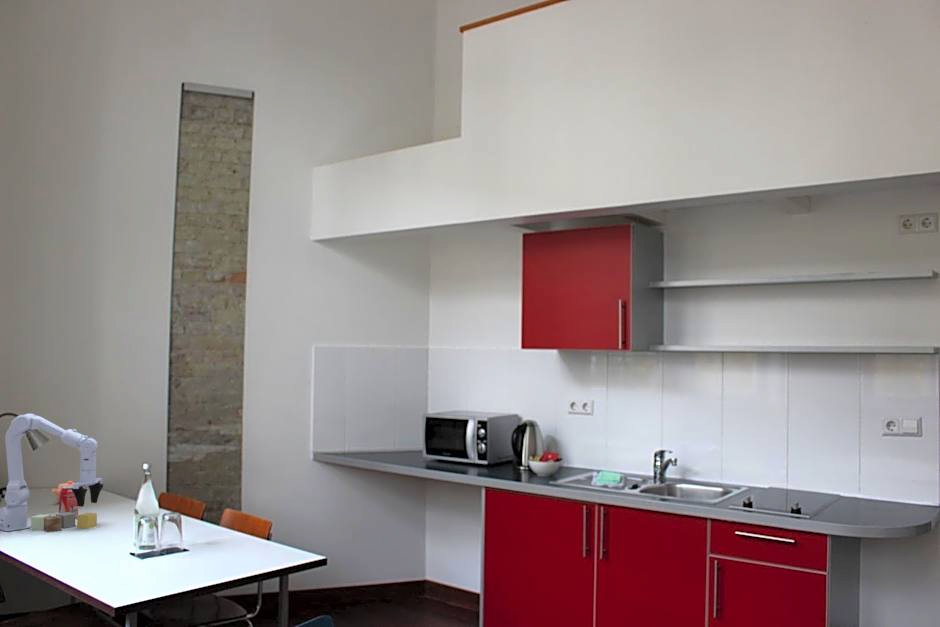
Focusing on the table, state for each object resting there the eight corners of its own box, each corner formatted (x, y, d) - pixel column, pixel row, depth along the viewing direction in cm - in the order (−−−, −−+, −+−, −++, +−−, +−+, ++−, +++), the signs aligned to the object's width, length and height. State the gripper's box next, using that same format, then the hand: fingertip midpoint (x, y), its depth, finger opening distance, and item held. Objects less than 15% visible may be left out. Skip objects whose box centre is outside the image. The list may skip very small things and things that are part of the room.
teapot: (51, 505, 386) (51, 483, 387) (60, 500, 398) (60, 479, 399) (78, 505, 388) (79, 483, 388) (87, 500, 400) (87, 478, 400)
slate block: (63, 528, 340) (64, 515, 340) (55, 527, 343) (55, 514, 343) (75, 526, 345) (75, 513, 345) (67, 524, 347) (67, 512, 347)
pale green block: (43, 530, 337) (44, 517, 337) (31, 530, 337) (31, 517, 337) (50, 527, 342) (50, 514, 342) (37, 527, 342) (38, 514, 342)
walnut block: (47, 532, 333) (47, 519, 333) (44, 530, 337) (44, 517, 337) (61, 531, 336) (61, 517, 336) (58, 528, 340) (59, 515, 340)
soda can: (81, 516, 362) (82, 485, 363) (71, 520, 355) (72, 488, 356) (64, 516, 363) (65, 484, 363) (55, 519, 356) (55, 487, 356)
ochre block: (88, 528, 340) (88, 515, 341) (77, 527, 342) (77, 515, 342) (96, 526, 345) (96, 513, 345) (85, 525, 347) (86, 512, 347)
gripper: (84, 472, 336) (83, 508, 336) (109, 467, 350) (108, 501, 350) (68, 471, 338) (67, 507, 338) (93, 466, 352) (93, 500, 352)
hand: (87, 504), depth 344 cm, fingers open, 7 cm apart
